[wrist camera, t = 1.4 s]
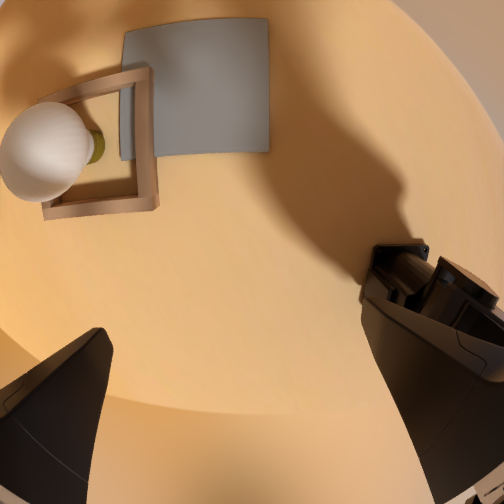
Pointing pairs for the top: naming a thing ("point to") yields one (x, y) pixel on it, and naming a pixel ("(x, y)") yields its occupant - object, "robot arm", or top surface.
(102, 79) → the holder frame
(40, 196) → the light bulb
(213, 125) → the coaster
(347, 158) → the top surface
